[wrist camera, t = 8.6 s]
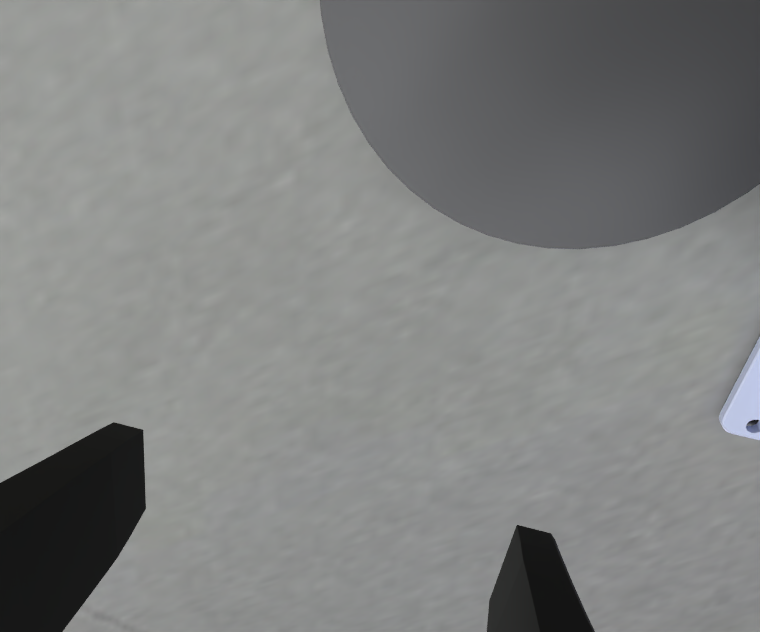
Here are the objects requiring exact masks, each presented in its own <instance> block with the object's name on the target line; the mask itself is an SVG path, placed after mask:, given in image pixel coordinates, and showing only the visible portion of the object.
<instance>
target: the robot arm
mask: <svg viewBox="0 0 760 632" xmlns="http://www.w3.org/2000/svg"><path fill="white" fill-rule="evenodd" d="M719 420H720V423H721V425H722V427H723V428H724V429H725V430H726V431H727V432H729V433H732V434H735V435H740V436H744V437H748V438H752V439H757V440H760V337H759V339H758V341H757V343H756V345H755V347H754V348H753V350H752V352H751V354H750V356H749V358H748V360H747V362H746V364H745V366H744V368H743V370H742V372H741V374H740V375H739V377H738V379H737V381H736V383H735V385H734V387H733V389H732V391H731V393H730V395H729V397H728V399H727V400H726V402H725V404H724V406H723V408H722V410H721V412H720V415H719ZM752 420H759V421H758V423H757V424H755V425H752V426H746V424H747V423H748V422H749V421H752ZM145 509H146V503H145V473H144V443H143V430H141V429H137V428H134V427H130V426H126V425H122V424H118V423H112V424H110V425H108V426H106V427H104V428H102V429H100V430H98V431H96V432H94V433H92V434H90V435H89V436H87V437H85V438H83V439H81V440H79V441H78V442H76V443H74V444H72V445H70V446H68V447H67V448H65V449H63V450H61V451H59V452H57V453H56V454H54V455H52V456H50V457H48V458H46V459H45V460H43V461H41V462H39V463H37V464H35V465H33V466H31V467H29V468H28V469H26V470H24V471H22V472H20V473H18V474H16V475H14V476H12V477H11V478H9V479H7V480H5V481H3V482H1V483H0V632H62V631H63V630H64V629H65V627H66V626H67V625H68V623H69V622H70V621H71V619H72V618H73V617H74V615H75V614H76V613H77V611H78V610H79V609H80V607H81V606H82V605H83V603H84V602H85V601H86V599H87V598H88V597H89V595H90V594H91V593H92V591H93V590H94V589H95V587H96V586H97V585H98V583H99V582H100V581H101V579H102V578H103V577H104V575H105V574H106V572H107V571H108V570H109V568H110V567H111V566H112V564H113V563H114V561H115V560H116V559H117V557H118V556H119V554H120V552H121V551H122V549H123V547H124V546H125V544H126V542H127V541H128V539H129V537H130V536H131V534H132V532H133V530H134V529H135V527H136V525H137V523H138V521H139V520H140V518H141V516H142V514H143V512H144V511H145ZM487 632H595V631H594V629H593V627H592V625H591V623H590V621H589V618H588V616H587V614H586V612H585V610H584V608H583V605H582V603H581V601H580V599H579V596H578V594H577V592H576V590H575V587H574V585H573V583H572V580H571V578H570V576H569V573H568V571H567V569H566V566H565V564H564V561H563V559H562V556H561V554H560V551H559V549H558V546H557V544H556V541H555V539H554V538H553V536H552V535H551V533H547V532H543V531H539V530H535V529H531V528H527V527H523V526H519V525H517V526H516V529H515V532H514V535H513V537H512V540H511V543H510V546H509V548H508V551H507V554H506V557H505V559H504V562H503V565H502V568H501V570H500V573H499V576H498V579H497V581H496V584H495V587H494V590H493V592H492V595H491V598H490V601H489V613H488V625H487Z"/></svg>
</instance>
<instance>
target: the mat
mask: <svg viewBox="0 0 760 632" xmlns="http://www.w3.org/2000/svg"><path fill="white" fill-rule="evenodd" d="M320 6H321V16H322V21H323V27H324V32H325V38H326V43H327V49H328V52H329V56H330V59H331V62H332V65H333V69H334V72H335V75H336V78H337V82H338V85H339V87H340V89H341V91H342V94H343V96H344V98H345V101H346V103H347V105H348V107H349V110H350V112H351V114H352V116H353V118H354V119H355V121H356V123H357V124H358V126H359V128H360V129H361V131H362V133H363V135H364V136H365V138H366V140H367V141H368V143H369V144H370V146H371V147H372V148H373V149H374V151H375V152H376V153H377V155H378V156H379V157H380V158H381V160H382V161H383V162H384V164H385V165H386V166H387V167H388V169H389V170H390V171H391V172H392V173H393V174H394V175H395V176H396V177H398V178H399V179H400V180H401V181H402V182H403V183H404V184H405V185H406V186H407V187H408V188H409V189H410V190H411V191H412V192H413V193H415V194H416V195H417V196H419V197H420V198H421V199H422V200H424V201H425V202H426V203H428V204H429V205H430V206H432V207H433V208H434V209H436V210H438V211H439V212H441V213H443V214H444V215H446V216H448V217H450V218H451V219H453V220H455V221H456V222H458V223H460V224H462V225H465V226H467V227H469V228H472V229H474V230H476V231H479V232H481V233H484V234H486V235H488V236H492V237H496V238H499V239H503V240H506V241H510V242H514V243H517V244H523V245H530V246H537V247H544V248H560V249H586V248H597V247H607V246H615V245H620V244H625V243H630V242H634V241H639V240H644V239H648V238H651V237H654V236H657V235H660V234H663V233H666V232H669V231H672V230H675V229H678V228H681V227H683V226H685V225H688V224H690V223H692V222H694V221H696V220H698V219H701V218H703V217H705V216H707V215H709V214H712V213H714V212H716V211H717V210H719V209H721V208H722V207H724V206H726V205H727V204H729V203H731V202H732V201H734V200H736V199H738V198H739V197H741V196H743V195H744V194H746V193H748V192H749V191H750V190H752V189H753V188H754V187H756V186H757V185H758V184H760V0H320Z"/></svg>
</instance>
